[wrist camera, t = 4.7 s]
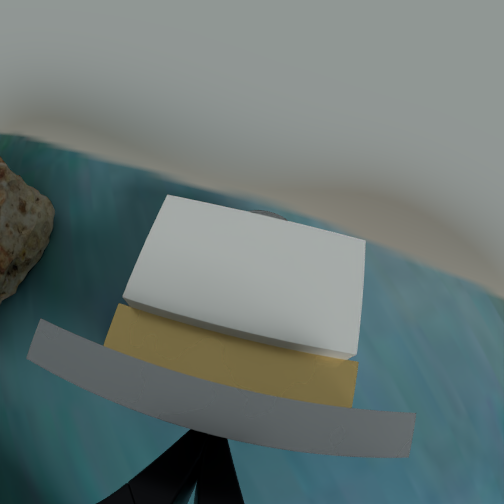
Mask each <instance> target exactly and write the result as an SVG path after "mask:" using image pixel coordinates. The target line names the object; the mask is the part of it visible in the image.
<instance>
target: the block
mask: <svg viewBox="0 0 504 504" xmlns="http://www.w3.org/2000/svg"><path fill="white" fill-rule="evenodd" d="M364 265H365V240H361V239H358V238H354V237H350V236H346V235H342V234H338V233H334V232H330V231H326V230H322V229H318V228H314V227H310V226H306V225H302V224H298V223H294V222H290V221H285V220H281V219H277V218H273V217H268V216H264V215H260V214H255V213H251V212H247V211H242V210H238V209H233V208H229V207H224V206H220V205H215V204H210V203H206V202H201V201H196V200H191V199H186V198H182V197H177V196H172V195H167V197H166V199H165V201H164V203H163V205H162V207H161V209H160V211H159V213H158V215H157V217H156V220H155V222H154V224H153V226H152V228H151V230H150V233H149V235H148V237H147V239H146V241H145V244H144V246H143V248H142V251H141V253H140V255H139V257H138V260H137V262H136V264H135V267H134V269H133V272H132V274H131V276H130V279H129V281H128V284H127V286H126V289H125V291H124V294H123V296H122V297H123V299H124V300H125V301H126V302H127V303H128V305H129V306H130V307H132V308H135V309H139V310H142V311H145V312H148V313H151V314H155V315H158V316H161V317H164V318H168V319H171V320H175V321H178V322H182V323H185V324H189V325H192V326H196V327H199V328H203V329H207V330H211V331H214V332H218V333H222V334H226V335H230V336H234V337H238V338H242V339H246V340H250V341H255V342H259V343H263V344H268V345H272V346H277V347H281V348H286V349H291V350H296V351H301V352H306V353H311V354H316V355H321V356H327V357H332V358H338V359H344V360H347V359H349V358H351V357H353V356H355V355H356V354H357V347H358V338H359V329H360V319H361V308H362V296H363V282H364Z"/></svg>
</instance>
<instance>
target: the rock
mask: <svg viewBox="0 0 504 504" xmlns="http://www.w3.org/2000/svg"><path fill="white" fill-rule="evenodd" d="M54 215H55V210H54V208H53V205H52V203H51V201H50V200H49V199H48V198H47V197H46V196H44V195H42V194H40V192H39V191H38V190H36V189H35V188H33V187H31V186H29V185H27V184H26V183H25V182H24V180H23V179H22V178H21V176H20V175H16V174H15V173H13V172H12V171H11V170H10V169H9V168H8V166H7V165H6V163H5V162H4V161H3V160H2V158H1V157H0V304H1V301H2V300H4V299H6V298H8V297H9V296H11V295H13V294H15V293H16V290H17V287H18V285H19V284H20V283H21V282H22V281H23V280H24V278H25V276H26V275H27V273H28V272H29V270H30V269H31V268H32V267H33V266H34V265H35V264H36V263H37V262H38V261H39V260H40V258H41V256H42V254H43V252H44V250H45V248H46V246H47V245H48V243H49V236H50V234H51V231H52V229H53V218H54Z"/></svg>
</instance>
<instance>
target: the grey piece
mask: <svg viewBox="0 0 504 504" xmlns="http://www.w3.org/2000/svg"><path fill="white" fill-rule="evenodd" d="M248 212H251V213H255V214H260V215H264V216H268V217H273V218H277V219H281V220H285V221H288V220H286V219H285V218H283V217H282V216H280V215H278V214H275V213H272V212H268V211H262V210H253V211H248ZM27 359H28V360H30V361H32V362H33V363H35V364H37V365H39V366H40V367H42V368H44V369H46V370H48V371H49V372H51V373H53V374H55V375H57V376H59V377H61V378H63V379H65V380H67V381H69V382H71V383H73V384H75V385H77V386H79V387H81V388H83V389H85V390H87V391H90V392H92V393H94V394H96V395H99V396H101V397H103V398H105V399H108V400H110V401H113V402H115V403H117V404H120V405H122V406H125V407H127V408H130V409H133V410H135V411H138V412H141V413H143V414H146V415H149V416H152V417H155V418H158V419H161V420H164V421H167V422H170V423H173V424H176V425H179V426H182V427H186V428H189V429H193V430H196V431H200V432H203V433H207V434H211V435H215V436H219V437H223V438H227V439H232V440H236V441H241V442H245V443H250V444H255V445H260V446H266V447H272V448H278V449H284V450H291V451H298V452H306V453H314V454H324V455H335V456H350V457H375V458H402V457H409V453H410V448H411V443H412V437H413V431H414V425H415V418H416V413H404V412H388V411H375V410H364V409H355V408H346V407H338V406H330V405H323V404H316V403H310V402H304V401H298V400H292V399H287V398H281V397H276V396H271V395H266V394H262V393H257V392H252V391H248V390H243V389H239V388H235V387H231V386H227V385H223V384H219V383H215V382H211V381H208V380H204V379H200V378H197V377H193V376H190V375H186V374H183V373H180V372H176V371H173V370H170V369H167V368H164V367H160V366H157V365H154V364H151V363H148V362H146V361H143V360H140V359H137V358H134V357H131V356H129V355H126V354H123V353H120V352H118V351H115V350H112V349H110V348H107V347H105V346H102V345H100V344H97V343H95V342H92V341H90V340H88V339H85V338H83V337H80V336H78V335H76V334H74V333H71V332H69V331H67V330H65V329H62V328H60V327H58V326H56V325H54V324H52V323H49V322H47V321H45V320H43V319H41V318H40V321H39V324H38V326H37V329H36V332H35V334H34V337H33V340H32V343H31V346H30V349H29V352H28V355H27Z"/></svg>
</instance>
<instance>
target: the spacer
mask: <svg viewBox="0 0 504 504" xmlns="http://www.w3.org/2000/svg"><path fill="white" fill-rule="evenodd" d="M103 346H105V347H107V348H110V349H112V350H115V351H118V352H120V353H123V354H126V355H129V356H131V357H134V358H137V359H140V360H143V361H146V362H148V363H151V364H154V365H157V366H160V367H164V368H167V369H170V370H173V371H176V372H180V373H183V374H186V375H190V376H193V377H197V378H200V379H204V380H208V381H211V382H215V383H219V384H223V385H227V386H231V387H235V388H239V389H243V390H248V391H252V392H257V393H262V394H266V395H271V396H276V397H281V398H287V399H292V400H298V401H304V402H310V403H316V404H323V405H330V406H338V407H346V408H352V402H353V396H354V390H355V384H356V377H357V370H358V362H356V361H350V360H344V359H338V358H332V357H327V356H321V355H316V354H311V353H306V352H301V351H296V350H291V349H286V348H281V347H277V346H272V345H268V344H263V343H259V342H255V341H250V340H246V339H242V338H238V337H234V336H230V335H226V334H222V333H218V332H214V331H211V330H207V329H203V328H199V327H196V326H192V325H189V324H185V323H182V322H178V321H175V320H171V319H168V318H164V317H161V316H158V315H155V314H151V313H148V312H145V311H142V310H139V309H135V308H132V307H129V306H126V305H123V304H120V303H119V304H118V307H117V309H116V312H115V314H114V317H113V320H112V323H111V325H110V328H109V331H108V334H107V336H106V339H105V342H104V345H103Z"/></svg>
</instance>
